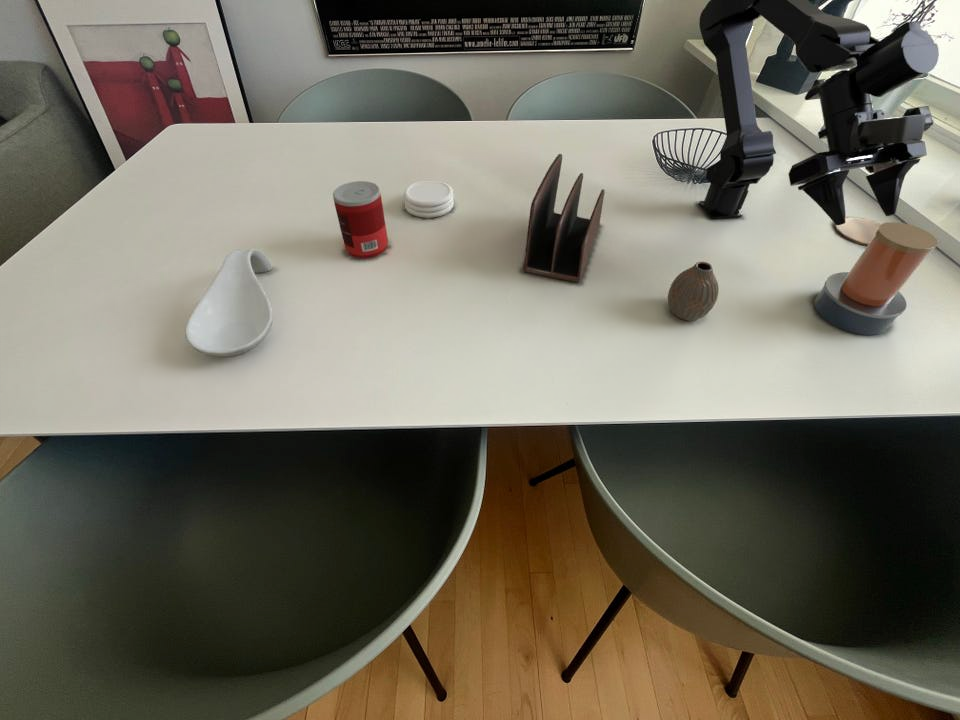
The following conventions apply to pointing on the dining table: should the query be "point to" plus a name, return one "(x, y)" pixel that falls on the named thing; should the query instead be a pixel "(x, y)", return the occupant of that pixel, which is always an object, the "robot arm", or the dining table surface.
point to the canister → (887, 263)
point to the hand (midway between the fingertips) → (866, 219)
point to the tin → (855, 309)
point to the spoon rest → (232, 308)
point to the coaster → (428, 199)
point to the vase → (693, 292)
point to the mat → (858, 230)
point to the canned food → (361, 219)
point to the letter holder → (559, 230)
